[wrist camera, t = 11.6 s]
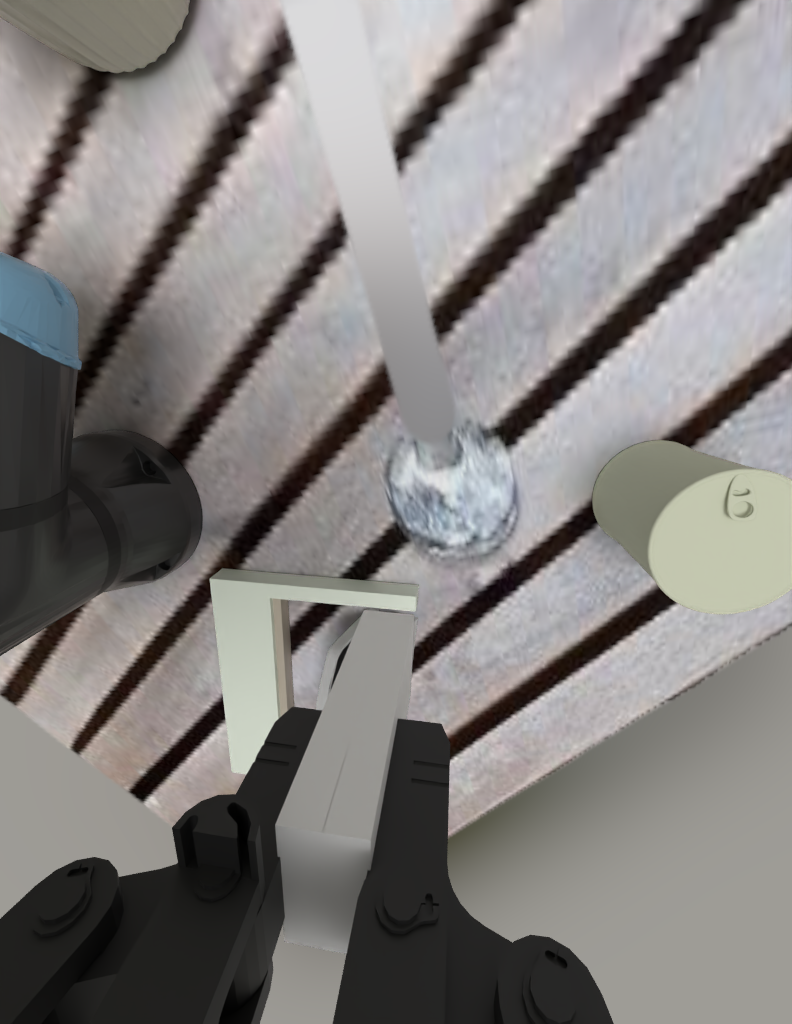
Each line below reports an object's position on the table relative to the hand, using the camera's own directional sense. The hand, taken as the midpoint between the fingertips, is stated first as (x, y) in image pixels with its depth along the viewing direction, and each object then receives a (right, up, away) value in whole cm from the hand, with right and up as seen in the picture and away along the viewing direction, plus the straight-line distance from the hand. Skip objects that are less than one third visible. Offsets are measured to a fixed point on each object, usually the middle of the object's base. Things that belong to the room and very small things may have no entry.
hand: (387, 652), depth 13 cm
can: (+22, +6, +23) cm, 32 cm away
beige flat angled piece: (-8, -14, +33) cm, 37 cm away
